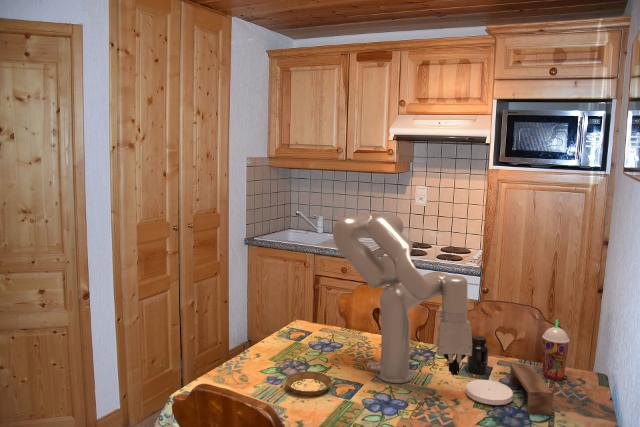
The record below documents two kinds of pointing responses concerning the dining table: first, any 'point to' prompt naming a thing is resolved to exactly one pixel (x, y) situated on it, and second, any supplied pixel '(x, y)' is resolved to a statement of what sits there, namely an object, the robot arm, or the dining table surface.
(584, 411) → the dining table surface
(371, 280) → the robot arm
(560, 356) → the smoothie
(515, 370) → the walnut bridge
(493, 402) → the plastic lid
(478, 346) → the supplement bottle
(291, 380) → the plant saucer
